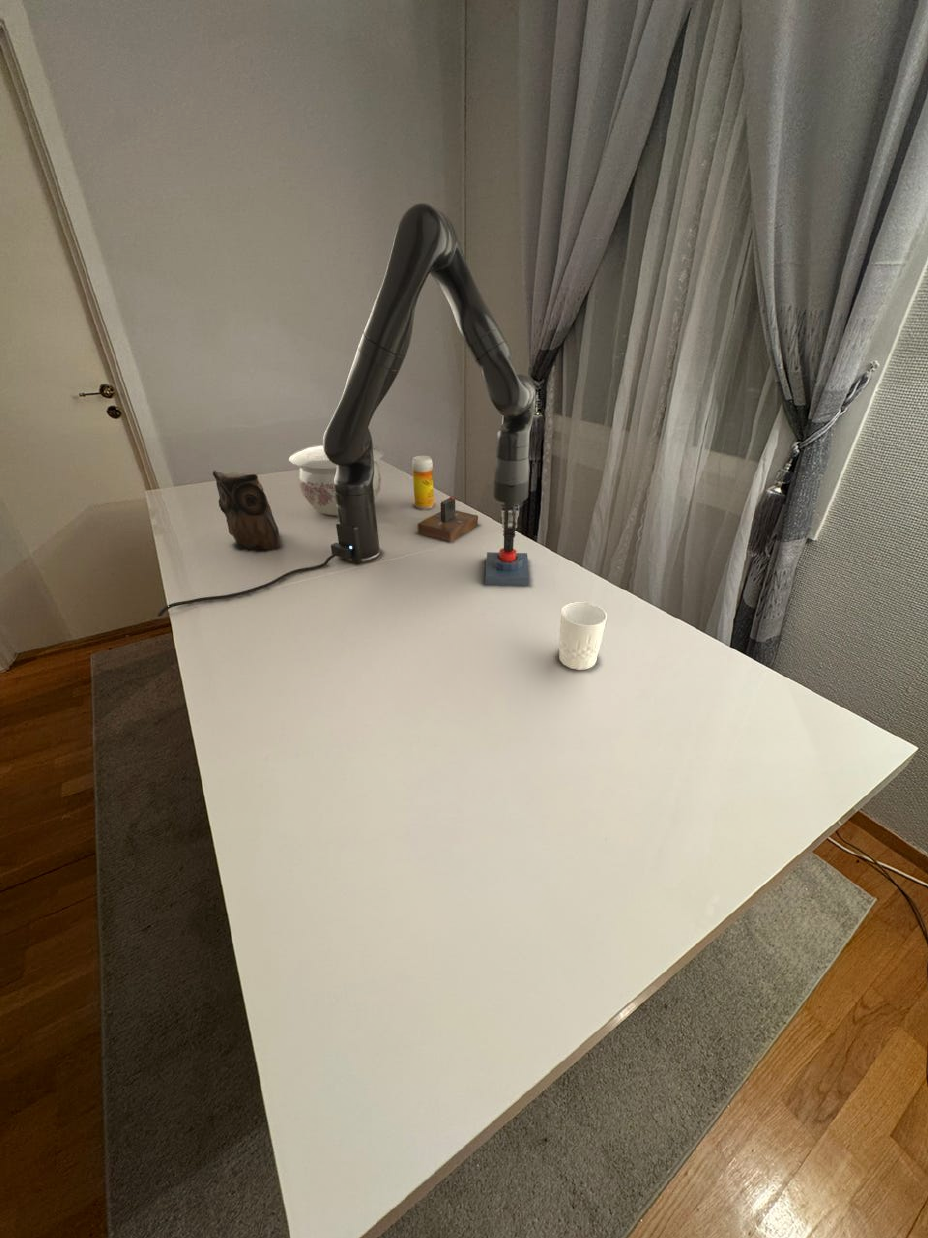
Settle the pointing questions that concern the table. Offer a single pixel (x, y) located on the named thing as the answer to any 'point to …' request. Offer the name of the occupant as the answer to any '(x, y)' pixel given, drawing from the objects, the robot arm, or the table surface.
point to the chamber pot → (324, 477)
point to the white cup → (581, 634)
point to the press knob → (507, 555)
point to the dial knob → (448, 509)
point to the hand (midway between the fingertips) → (508, 549)
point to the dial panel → (448, 526)
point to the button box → (507, 570)
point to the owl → (247, 511)
